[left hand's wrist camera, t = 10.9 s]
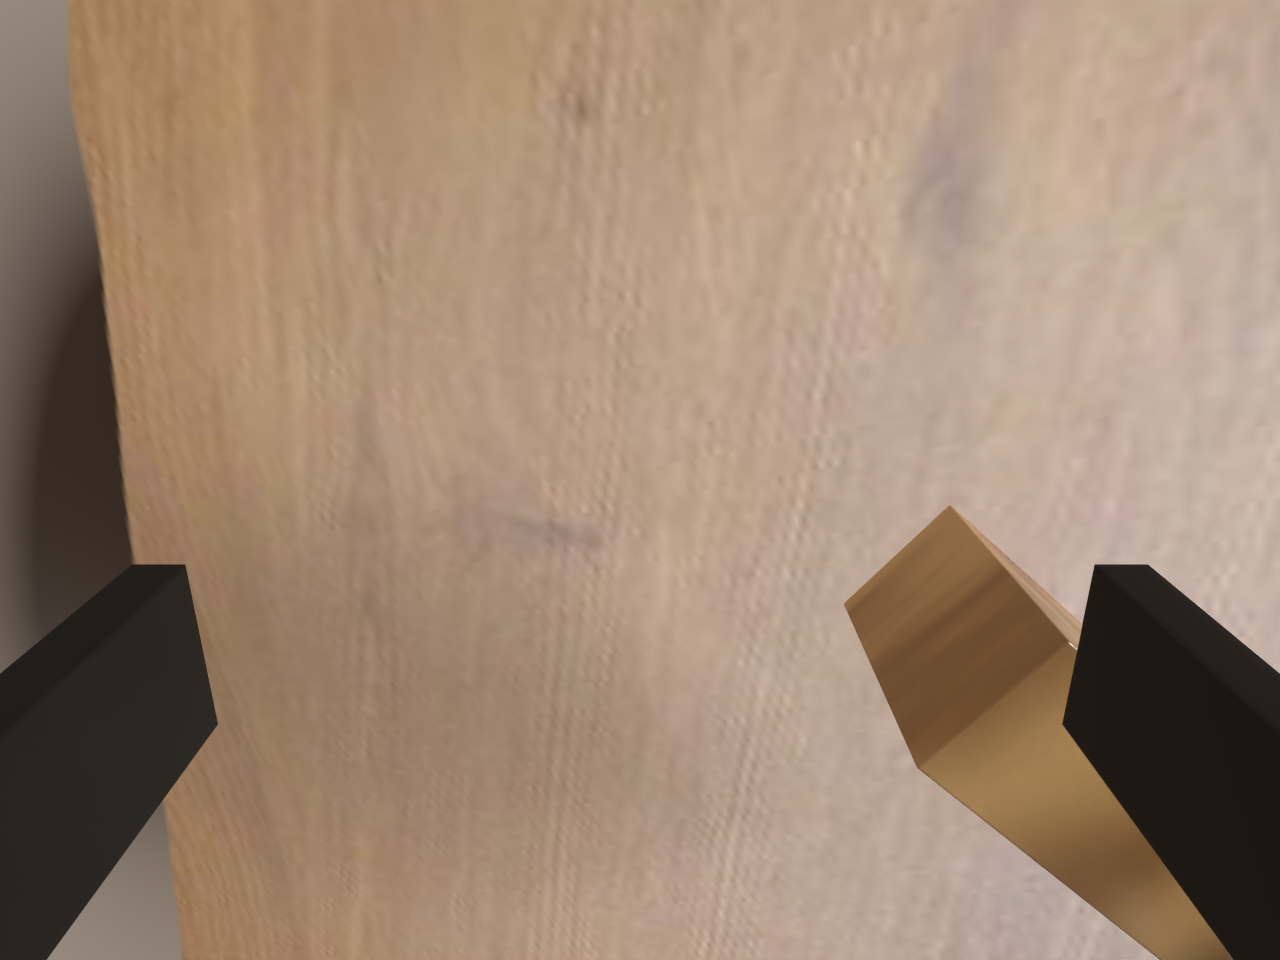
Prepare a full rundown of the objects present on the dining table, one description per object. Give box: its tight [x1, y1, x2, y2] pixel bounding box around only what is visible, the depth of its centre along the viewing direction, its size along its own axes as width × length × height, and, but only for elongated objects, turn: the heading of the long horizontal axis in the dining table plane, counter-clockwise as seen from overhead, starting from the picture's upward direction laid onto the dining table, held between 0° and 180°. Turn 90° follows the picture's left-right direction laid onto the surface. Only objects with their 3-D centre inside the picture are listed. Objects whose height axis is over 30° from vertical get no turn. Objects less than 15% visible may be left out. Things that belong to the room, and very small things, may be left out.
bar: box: [844, 506, 1233, 960], centre depth 29 cm, size 22×5×9 cm, turn 49°
